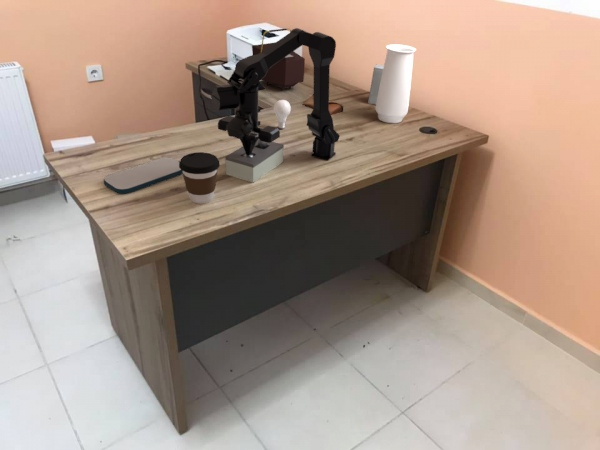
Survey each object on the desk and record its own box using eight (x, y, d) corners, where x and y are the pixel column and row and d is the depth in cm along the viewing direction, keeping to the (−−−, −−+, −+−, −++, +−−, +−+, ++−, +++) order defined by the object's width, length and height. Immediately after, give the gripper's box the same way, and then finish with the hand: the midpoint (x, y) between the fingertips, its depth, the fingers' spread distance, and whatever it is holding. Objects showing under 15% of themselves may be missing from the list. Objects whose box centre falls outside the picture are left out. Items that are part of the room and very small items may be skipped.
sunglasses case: (299, 104, 212) (305, 89, 211) (308, 109, 218) (314, 95, 217) (329, 116, 201) (336, 100, 200) (338, 121, 207) (345, 106, 206)
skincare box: (367, 104, 217) (372, 67, 208) (370, 99, 223) (375, 63, 214) (387, 106, 215) (392, 70, 206) (389, 101, 221) (394, 65, 212)
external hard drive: (168, 160, 160) (167, 155, 159) (190, 173, 154) (189, 167, 153) (100, 183, 145) (99, 177, 144) (121, 198, 139) (120, 191, 138)
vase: (406, 126, 196) (419, 53, 181) (373, 122, 198) (383, 50, 183) (405, 115, 207) (417, 45, 192) (374, 111, 209) (384, 42, 194)
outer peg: (255, 170, 156) (255, 154, 153) (249, 174, 153) (249, 157, 150) (247, 168, 157) (247, 152, 154) (241, 171, 154) (241, 155, 151)
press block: (283, 161, 163) (283, 144, 160) (253, 182, 150) (253, 164, 146) (257, 154, 167) (257, 137, 164) (226, 174, 153) (225, 156, 150)
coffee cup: (174, 197, 140) (170, 158, 134) (206, 185, 147) (204, 148, 140) (196, 212, 134) (193, 172, 127) (229, 199, 140) (227, 161, 134)
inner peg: (268, 150, 159) (268, 133, 156) (263, 153, 157) (263, 137, 154) (260, 147, 161) (260, 131, 158) (255, 151, 158) (255, 134, 155)
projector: (277, 77, 244) (278, 23, 230) (307, 90, 229) (311, 33, 215) (249, 82, 234) (249, 26, 221) (279, 96, 220) (281, 37, 206)
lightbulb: (290, 126, 190) (292, 98, 184) (288, 132, 185) (290, 103, 179) (274, 124, 191) (275, 96, 185) (272, 130, 185) (272, 102, 179)
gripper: (205, 106, 141) (207, 156, 149) (260, 120, 134) (260, 172, 142) (227, 96, 150) (229, 144, 158) (281, 109, 142) (279, 158, 151)
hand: (248, 155), depth 152 cm, fingers closed, pressing on outer peg
